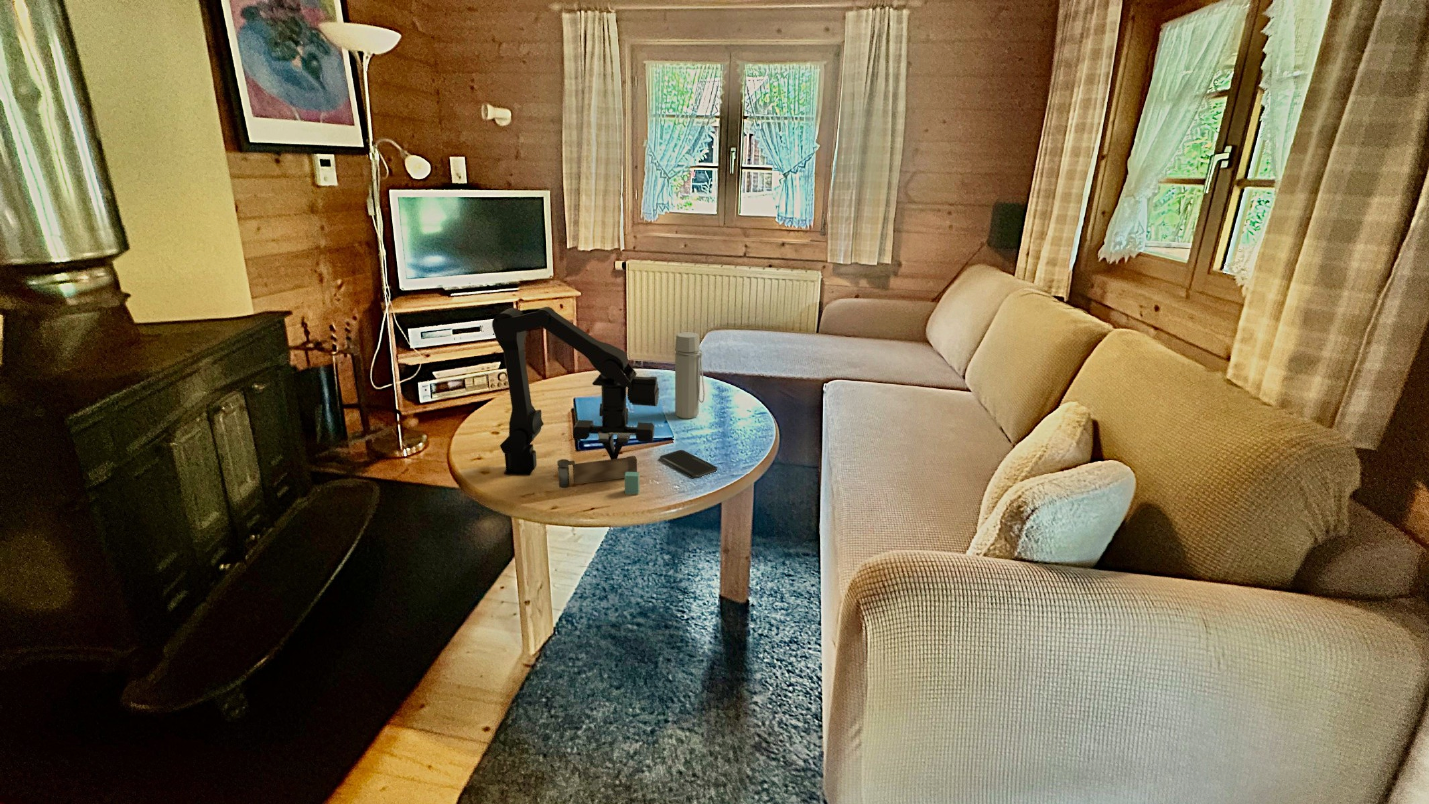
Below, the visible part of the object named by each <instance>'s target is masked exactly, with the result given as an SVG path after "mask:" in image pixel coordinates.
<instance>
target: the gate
mask: <svg viewBox="0 0 1429 804" xmlns="http://www.w3.org/2000/svg"><path fill="white" fill-rule="evenodd" d="M566 466H572V476H573V478H572V481H573V484H574V485H581V484H586V483H587V484H588V483H594V482H596V483H597V482H603V481H612V480H618V479H625V473H626V472H638V458H637V457H636V456H635V455H628V456H626V457H620V458H619V457H618V458H617V459H604V460H595V461H587V462H579V463H576V462H575V460H568V459H566V458H564V459H559V460H557V467H566Z"/></svg>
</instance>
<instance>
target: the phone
mask: <svg viewBox="0 0 1429 804" xmlns="http://www.w3.org/2000/svg"><path fill="white" fill-rule="evenodd" d="M659 461H660V462H662V463H664V464H666V465H668V466H669V467H671V468H673V469H675V470H677V471H679V472H680V473H683V474H684V475H686V476H687V475H688V477H689V476H690V478H691V479H694V478H698V479H701V478H703V477H702V476H704V475H706V476H709V475H711V474H710V473H712V474H715V473H717V472H718V467H717V466H715V465H714V464H712V463H710V462H708V461H706V460H703V459H702V458H700V457H698V456H696V455H694V454H692V453H690V452H688V451H686V450H684V449H678V450H675V451H672V452H669V453H666V454H663V455H660V456H659ZM716 471H717V472H716ZM714 472H715V473H714ZM708 474H709V475H708ZM704 477H705V476H704Z"/></svg>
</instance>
